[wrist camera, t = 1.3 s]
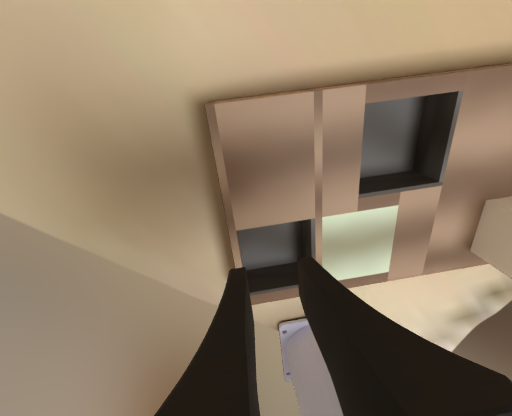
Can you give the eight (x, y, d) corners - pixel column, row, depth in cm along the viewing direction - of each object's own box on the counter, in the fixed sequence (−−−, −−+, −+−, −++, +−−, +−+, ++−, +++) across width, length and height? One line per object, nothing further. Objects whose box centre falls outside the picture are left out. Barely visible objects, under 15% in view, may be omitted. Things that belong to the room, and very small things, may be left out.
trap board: (489, 238, 24) (523, 257, 22) (240, 280, 23) (242, 306, 20) (553, 57, 18) (611, 52, 15) (207, 102, 16) (204, 105, 14)
